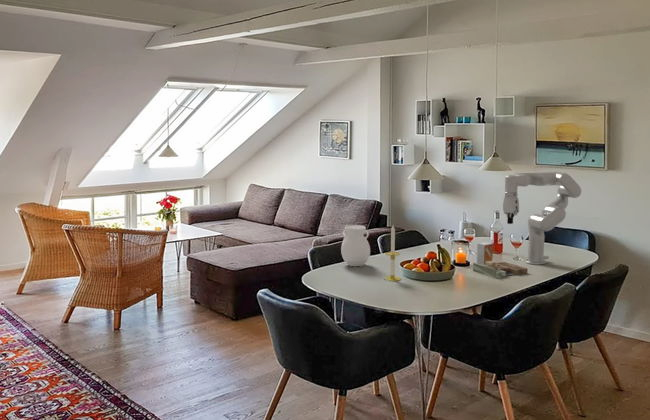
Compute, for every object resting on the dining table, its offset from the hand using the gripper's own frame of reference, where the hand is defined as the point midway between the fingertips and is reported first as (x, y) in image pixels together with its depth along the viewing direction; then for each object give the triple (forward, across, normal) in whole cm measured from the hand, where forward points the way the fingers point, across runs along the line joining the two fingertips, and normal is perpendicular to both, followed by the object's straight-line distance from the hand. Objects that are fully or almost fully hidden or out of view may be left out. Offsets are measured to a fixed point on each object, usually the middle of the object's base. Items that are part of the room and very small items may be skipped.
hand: (510, 223), depth 405 cm
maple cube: (+24, -11, +24) cm, 36 cm away
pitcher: (+26, +45, +87) cm, 101 cm away
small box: (+27, +11, +10) cm, 31 cm away
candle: (+26, +5, +85) cm, 89 cm away
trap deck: (+27, -12, +17) cm, 34 cm away
